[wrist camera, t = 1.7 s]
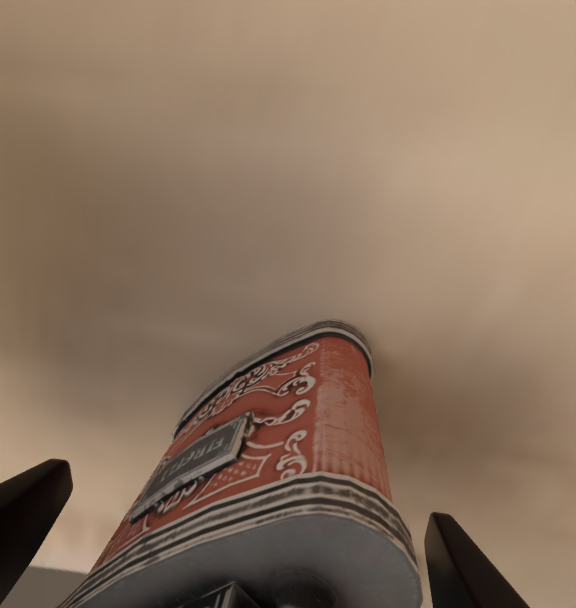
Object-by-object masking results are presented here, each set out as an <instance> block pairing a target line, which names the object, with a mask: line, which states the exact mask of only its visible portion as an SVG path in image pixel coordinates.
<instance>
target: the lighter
mask: <svg viewBox="0 0 576 608" xmlns="http://www.w3.org/2000/svg"><path fill="white" fill-rule="evenodd" d="M373 375H374V367H373V361H372V356H371V351H370V347H369V345H368V344H367V342H366V340H365V338H364V336H363V335H362V334H361V333H360V332H359V331H358V330H356V329H355V328H354V327H353V326H351V325H349V324H347V323H345V322H343V321H338V320H331V319H327V320H323V321H318V322H315V323H313V324H311V325H308V326H306V327H304V328H302V329H299V330H297V331H295V332H293V333H290V334H288V335H286V336H284V337H281V338H279V339H277V340H275V341H273V342H272V343H270V344H268V345H267V346H265V347H263V348H262V349H260V350H258V351H257V352H255V353H253V354H251V355H250V356H248V357H246V358H245V359H243V360H241V361H240V362H238V363H237V364H236V365H235V366H234V367H232V368H231V369H230V370H229V371H228V372H226V373H225V374H224V375H223V376H221V377H220V378H219V379H218V380H217V381H215V382H214V383H213V384H212V385H211V386H209V387H208V388H207V390H206V391H205V392H204V393H203V394H202V395H201V396H200V397H199V398H198V399H197V400H196V401H195V403H194V404H193V405H192V406H191V407H190V408H189V409H188V410H187V411H186V412H185V414H184V415H183V417H182V418H181V420H180V421H179V423H178V424H177V426H176V428H175V430H174V431H173V433H172V444H171V446H170V447H169V449H168V450H167V452H166V453H165V455H164V457H163V458H162V460H161V461H160V463H159V464H158V466H157V468H156V469H155V471H154V472H153V474H152V475H151V477H150V479H149V480H148V482H147V483H146V485H145V486H144V488H143V490H142V491H141V493H140V494H139V496H138V497H137V499H136V501H135V502H134V504H133V505H132V507H131V508H130V510H129V512H128V513H127V515H126V516H125V518H124V519H123V521H122V523H121V524H120V526H119V527H118V529H117V530H116V532H115V533H114V535H113V537H112V538H111V540H110V541H109V543H108V544H107V546H106V548H105V549H104V551H103V552H102V554H101V555H100V557H99V559H98V560H97V562H96V563H95V565H94V566H93V568H92V570H91V571H90V573H89V574H88V576H87V577H86V578H85V579H84V580H83V581H82V582H81V583H80V584H79V585H78V586H77V587H76V588H75V589H74V590H73V591H72V592H71V593H70V594H69V595H68V596H67V597H66V598H65V599H64V600H63V601H62V602H61V603H60V604H59V605H58V606H57V607H56V608H420V607H421V605H422V602H423V595H422V589H421V582H420V576H419V571H418V566H417V562H416V557H415V553H414V548H413V544H412V539H411V534H410V530H409V527H408V525H407V524H406V522H405V520H404V519H403V517H402V515H401V514H400V512H399V510H398V509H397V507H396V506H395V505H394V504H393V502H392V496H391V491H390V486H389V480H388V475H387V469H386V464H385V458H384V453H383V447H382V442H381V437H380V431H379V426H378V420H377V415H376V409H375V404H374V399H373V393H372V388H371V384H372V380H373Z"/></svg>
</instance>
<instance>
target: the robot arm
mask: <svg viewBox="0 0 576 608" xmlns="http://www.w3.org/2000/svg"><path fill="white" fill-rule="evenodd" d="M72 489H73V482H72V476H71V470H70V465H69V463H68V461H66V460H60V459H49V460H47V461H45V462H43V463H41V464H39V465H37V466H35V467H33V468H31V469H29V470H27V471H25V472H23V473H21V474H19V475H17V476H15V477H13V478H11V479H9V480H6V481H4V482H2V483H0V605H1V603H2V602H3V600H4V599H5V598H6V596H7V595H8V594H9V592H10V591H11V589H12V588H13V586H14V585H15V584H16V582H17V581H18V579H19V578H20V576H21V575H22V574H23V572H24V571H25V569H26V568H27V566H28V565H29V564H30V562H31V561H32V559H33V558H34V556H35V554H36V553H37V551H38V550H39V548H40V546H41V545H42V543H43V541H44V540H45V538H46V536H47V534H48V533H49V531H50V529H51V528H52V526H53V524H54V523H55V521H56V519H57V518H58V516H59V514H60V512H61V511H62V509H63V507H64V506H65V504H66V502H67V501H68V499H69V497H70V495H71V493H72ZM424 546H425V555H426V562H427V569H428V575H429V582H430V589H431V596H432V603H433V608H530V607H529V606H528V605H527V604H526V602H525V601H524V600H523V599H522V598H521V597H520V595H519V594H518V593H517V592H516V591H515V590H514V588H513V587H512V586H511V585H510V584H509V583H508V581H507V580H506V579H505V578H504V577H503V576H502V574H501V573H500V572H499V571H498V570H497V569H496V567H495V566H494V565H493V564H492V563H491V562H490V560H489V559H488V558H487V557H486V556H485V555H484V553H483V552H482V551H481V550H480V549H479V548H478V546H477V545H476V544H475V543H474V542H473V541H472V539H471V538H470V537H469V536H468V535H467V533H466V532H465V531H464V530H463V529H462V528H461V526H460V525H459V524H458V523H457V522H456V521H455V519H454V518H453V517H452V516H450V515H449V514H444V513H437V512H433V513H431V515H430V517H429V521H428V526H427V530H426V535H425V541H424Z"/></svg>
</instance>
